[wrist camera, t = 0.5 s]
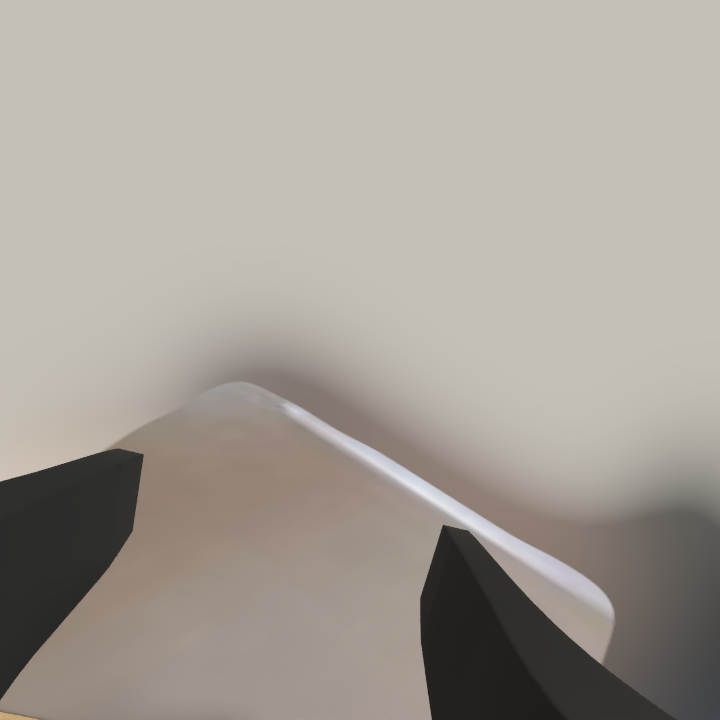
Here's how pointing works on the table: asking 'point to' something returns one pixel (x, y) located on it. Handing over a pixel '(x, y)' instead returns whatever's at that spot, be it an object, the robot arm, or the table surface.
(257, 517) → the table surface
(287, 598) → the table surface
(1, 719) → the cork mat
